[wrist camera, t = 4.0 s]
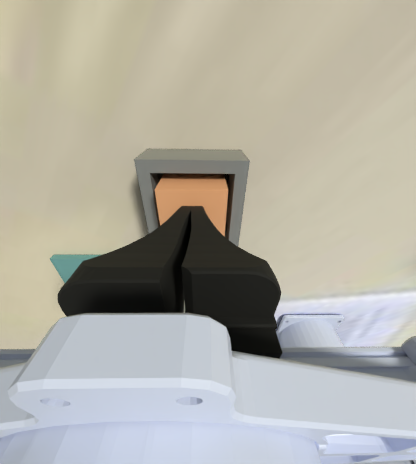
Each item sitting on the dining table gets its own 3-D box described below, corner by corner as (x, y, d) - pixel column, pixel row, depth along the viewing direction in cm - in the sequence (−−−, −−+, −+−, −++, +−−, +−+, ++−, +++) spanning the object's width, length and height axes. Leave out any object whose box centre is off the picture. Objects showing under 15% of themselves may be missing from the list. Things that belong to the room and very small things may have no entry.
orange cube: (219, 217, 16) (223, 247, 12) (172, 217, 16) (163, 246, 12) (222, 169, 13) (228, 190, 10) (167, 168, 13) (154, 189, 10)
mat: (149, 304, 23) (148, 308, 22) (83, 304, 23) (80, 308, 22) (136, 255, 18) (134, 259, 18) (53, 254, 18) (49, 258, 18)
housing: (229, 297, 22) (232, 321, 20) (166, 297, 22) (161, 322, 20) (248, 150, 13) (258, 160, 11) (140, 148, 13) (125, 159, 10)
